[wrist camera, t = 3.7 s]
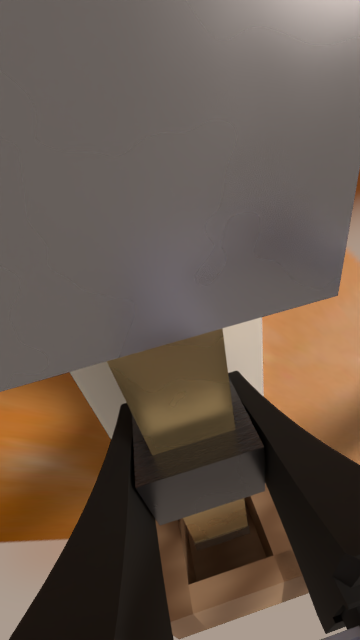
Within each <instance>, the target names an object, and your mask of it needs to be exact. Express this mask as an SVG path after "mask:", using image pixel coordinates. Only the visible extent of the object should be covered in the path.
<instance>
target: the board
mask: <svg viewBox="0 0 360 640" xmlns="http://www.w3.org/2000/svg"><path fill="white" fill-rule="evenodd" d="M222 329H223V337H224V344H225V352H226V360H227V368H228V373H229V372H233V371H236V370H237V371H239V372H240V374H241V375H242V376H243V377H244V378H245V379H246V380H247V381H248V382H249V383H250V384H251V385H252V386H253V387H254V388H255V389H256V390H257V391H258V392H259V393H260V394H261V395H262V396H264V394H263V344H262V317H261V318H257V319H254V320H250V321H247V322H243V323H240V324H236V325H233V326H229V327H226V328H222ZM70 374H71V375H72V377H73V379H74V380H75V382H76V383H77V385H78V387H79V388H80V390H81V392H82V393H83V395H84V396H85V398H86V400H87V401H88V403H89V405H90V406H91V408H92V409H93V411H94V413H95V414H96V416H97V418H98V419H99V421H100V422H101V424H102V426H103V427H104V429H105V430H106V432H107V434H108V435H109V437H110V439H112V436H113V433H114V429H115V426H116V422H117V418H118V414H119V410H120V406H121V405H122V404H124V403H127V402H126V400H125V398H124V396H123V394H122V392H121V390H120V388H119V386H118V384H117V382H116V380H115V378H114V376H113V373H112V371H111V369H110V367H109V365H108V363H107V361H106V362H103V363H99V364H96V365H92V366H89V367H85V368H82V369H78V370H75V371H71V372H70Z"/></svg>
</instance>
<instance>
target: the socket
mask: <svg viewBox="0 0 360 640" xmlns="http://www.w3.org/2000/svg"><path fill="white" fill-rule="evenodd" d="M244 501H245V509H246V516H247V522H248V525H249V530H250V533H249V534H246V535H243V536H240V537H237V538H234V539H232V540H229V541H226V542H223V543H220V544H217V545H214V546H211V547H208V548H205V549H202V550H199V551H197V549H196V547H195V545H194V540H193V538H192V536H191V534H190V532H189V530H188V528H187V526H186V523H185V521H184V519H183V518H182V519H179V520H176V521H172V522H169V523H166V524H163V525H159V524H158V522H157V521H156V519H155V521H156V528H157V536H158V543H159V550H160V557H161V564H162V571H163V578H164V584H165V591H166V597H167V604H168V610H169V616H170V622H171V628H172V634H173V636H175V637H176V638H178V639H181V638H184V637H187V636H190V635H192V634H195V633H198V632H201V631H204V630H207V629H209V628H212V627H215V626H218V625H221V624H223V623H226V622H229V621H231V620H234V619H237V618H240V617H243V616H246V615H249V614H251V613H254V612H257V611H260V610H263V609H265V608H268V607H271V606H273V605H276V604H279V603H282V602H285V601H287V600H290V599H293V598H296V597H299V596H302V595H305V594H307V593H308V592H309V591H308V589H307V586H306V583H305V581H304V578H303V576H302V573H301V570H300V568H299V565H298V562H297V560H296V557H295V555H294V552H293V550H292V547H291V545H290V542H289V540H288V537H287V534H286V532H285V529H284V527H283V525H282V522H281V520H280V517H279V515H278V512H277V510H276V507H275V505H274V502H273V500H272V498H271V495H270V493H269V490H268V488H267V486H266V483H265V491H264V492H261V493H258V494H255V495H252V496H249V497H246V498H244Z"/></svg>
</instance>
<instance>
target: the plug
mask: <svg viewBox="0 0 360 640" xmlns="http://www.w3.org/2000/svg"><path fill="white" fill-rule="evenodd" d="M107 363H108V365H109V367H110V369H111V371H112V373H113V376H114V378H115V380H116V382H117V384H118V386H119V388H120V390H121V392H122V394H123V396H124V398H125V400H126V402H127V404H128V406H129V408H130V410H131V412H132V426H133V446H134V467H135V488H136V489H137V491H138V493H139V494H140V496H141V497H142V499H143V500H144V502H145V503H146V505H147V507H148V508H149V510H150V511H151V513H152V514H153V516H154V517H155V519H156V521H157V522H158V524H159V525H163V524H166V523H169V522H172V521H176V520H179V519H182V518H183V519H184V521H185V523H186V526H187V528H188V530H189V532H190V534H191V536H192V538H193V540H194V545H195V547H196V549H197V551H199V550H202V549H205V548H208V547H211V546H214V545H217V544H220V543H223V542H226V541H229V540H232V539H234V538H237V537H240V536H243V535H246V534H249V533H250V530H249V525H248V522H247V516H246V509H245V501H244V498H246V497H249V496H252V495H255V494H258V493H261V492H264V491H265V458H264V446H263V444H262V442H261V440H260V438H259V436H258V434H257V432H256V430H255V428H254V426H253V424H252V422H251V420H250V418H249V416H248V414H247V412H246V410H245V408H244V406H243V404H242V402H241V400H240V398H239V396H238V394H237V392H236V390H235V388H234V386H233V384H232V382H231V380H230V378H229V376H228V368H227V360H226V352H225V344H224V337H223V329H219V330H215V331H211V332H208V333H204V334H201V335H197V336H194V337H190V338H187V339H183V340H180V341H176V342H173V343H169V344H166V345H162V346H159V347H155V348H152V349H148V350H145V351H141V352H138V353H134V354H131V355H127V356H124V357H120V358H117V359H113V360H110V361H107Z"/></svg>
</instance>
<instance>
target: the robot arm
mask: <svg viewBox="0 0 360 640" xmlns="http://www.w3.org/2000/svg"><path fill="white" fill-rule="evenodd" d="M228 376H229V378H230V380H231V382H232V384H233V386H234V388H235V390H236V392H237V394H238V396H239V398H240V400H241V402H242V404H243V406H244V408H245V410H246V412H247V414H248V416H249V418H250V420H251V422H252V424H253V426H254V428H255V430H256V432H257V434H258V436H259V438H260V440H261V442H262V444H263V446H264V458H265V483H266V486H267V488H268V490H269V493H270V495H271V498H272V500H273V502H274V505H275V507H276V510H277V512H278V515H279V517H280V520H281V522H282V525H283V527H284V529H285V532H286V534H287V537H288V540H289V542H290V545H291V547H292V550H293V552H294V555H295V557H296V560H297V562H298V565H299V568H300V570H301V573H302V576H303V578H304V581H305V583H306V586H307V589H308V591H309V594H310V597H311V599H312V602H313V605H314V607H315V610H316V613H317V615H318V617H319V620H320V622H321V624H322V627H323V629H324V631H325V633H326V634H327V633H330V632H332V631H335V630H338V629H340V628H343V627H346V628H347V630H345V631H343V632H340V633H337V634H335V635H332V636H329V637H327V638H324V639H321V640H360V465H359V464H357V463H355V462H354V461H352V460H350V459H349V458H347V457H345V456H344V455H342V454H340V453H339V452H337V451H335V450H334V449H332V448H331V447H329V446H328V445H326V444H324V443H323V442H321V441H320V440H318V439H317V438H315V437H314V436H313V435H311V434H310V433H308V432H307V431H305V430H304V429H303V428H301V427H300V426H299V425H297V424H296V423H295V422H293V421H292V420H291V419H290V418H288V417H287V416H286V415H285V414H283V413H282V412H281V411H280V410H278V409H277V408H276V407H275V406H274V405H273V404H271V403H270V402H269V401H268V400H267V399H266V398H265V397H264V396H262V395H261V394H260V393H259V392H258V391H257V390H256V389H255V388H254V387H253V386H252V385H251V384H250V383H249V382H248V381H247V380H246V379H245V378H244V377H243V376H242V375H241V374H240V372H239V371H237V370H236V371H233V372H229V373H228ZM9 640H173V634H172V628H171V622H170V616H169V610H168V604H167V597H166V591H165V584H164V578H163V571H162V564H161V557H160V550H159V543H158V536H157V528H156V521H155V517H154V516H153V514H152V513H151V511H150V510H149V508H148V507H147V505H146V503H145V502H144V500H143V499H142V497H141V496H140V494H139V493H138V491H137V489H136V488H135V467H134V446H133V426H132V412H131V410H130V408H129V406H128V404H127V403H124V404H122V405H121V406H120V410H119V414H118V418H117V422H116V426H115V429H114V433H113V436H112V439H111V442H110V445H109V448H108V451H107V454H106V457H105V460H104V462H103V465H102V468H101V470H100V473H99V476H98V478H97V481H96V483H95V485H94V488H93V490H92V493H91V495H90V497H89V499H88V501H87V504H86V506H85V508H84V510H83V512H82V514H81V516H80V518H79V520H78V522H77V524H76V526H75V528H74V530H73V532H72V534H71V536H70V538H69V540H68V542H67V544H66V546H65V547H64V549H63V551H62V553H61V555H60V556H59V558H58V560H57V562H56V563H55V565H54V567H53V569H52V570H51V572H50V574H49V576H48V578H47V579H46V581H45V583H44V584H43V586H42V588H41V589H40V591H39V593H38V594H37V596H36V597H35V599H34V600H33V602H32V604H31V605H30V607H29V609H28V610H27V612H26V613H25V615H24V617H23V618H22V620H21V621H20V623H19V624H18V626H17V628H16V629H15V631H14V632H13V634H12V635H11V637H10V639H9Z"/></svg>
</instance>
